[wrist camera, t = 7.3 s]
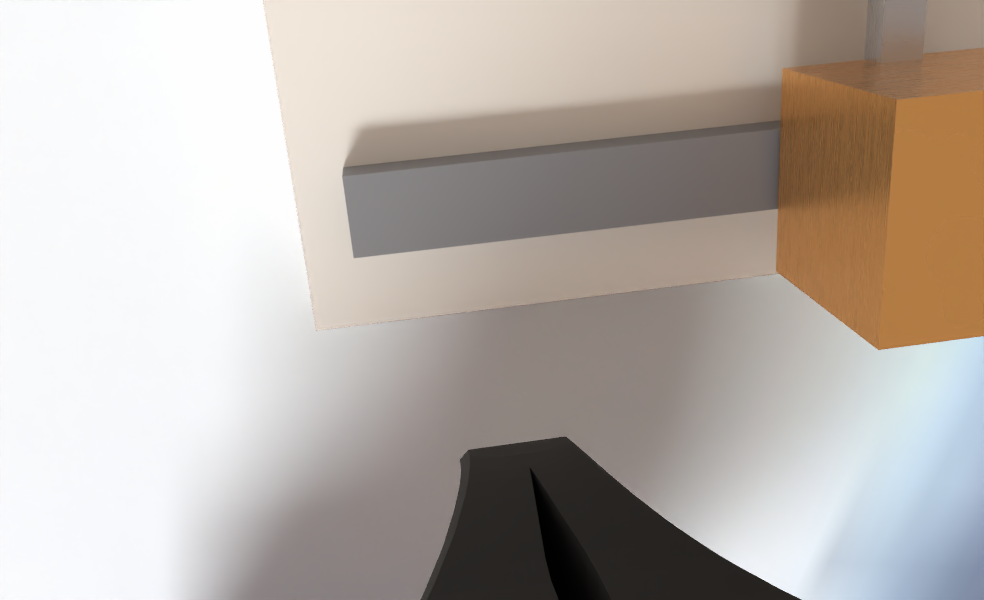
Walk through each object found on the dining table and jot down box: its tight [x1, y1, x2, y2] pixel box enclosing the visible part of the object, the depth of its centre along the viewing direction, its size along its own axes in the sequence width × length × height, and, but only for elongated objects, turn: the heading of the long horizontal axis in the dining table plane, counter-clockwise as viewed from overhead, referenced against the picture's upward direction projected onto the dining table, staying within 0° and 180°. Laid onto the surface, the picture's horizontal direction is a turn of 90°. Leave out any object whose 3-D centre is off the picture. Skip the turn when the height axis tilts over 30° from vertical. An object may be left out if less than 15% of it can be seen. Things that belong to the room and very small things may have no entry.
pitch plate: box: [263, 0, 984, 331], centre depth 17 cm, size 22×9×6 cm, turn 94°
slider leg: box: [776, 0, 984, 350], centre depth 16 cm, size 4×7×5 cm, turn 4°
